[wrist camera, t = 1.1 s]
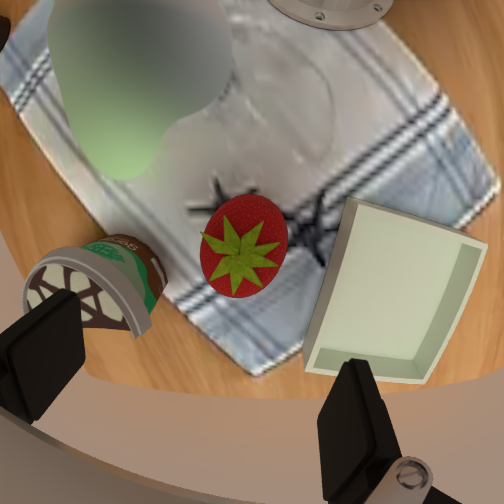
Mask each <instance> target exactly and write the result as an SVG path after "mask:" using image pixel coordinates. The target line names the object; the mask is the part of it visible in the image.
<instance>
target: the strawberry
mask: <svg viewBox="0 0 504 504" xmlns="http://www.w3.org/2000/svg"><path fill="white" fill-rule="evenodd" d="M200 233H201V234H202V236H203V238H202V242H201V247H200V261H201V267H202V270H203V274H204V276H205V278H206V280H207V281H208V283H209V284H210V285H211V286H212V288H214V289H215V290H216V291H217V292H219V293H220V294H222V295H224V296H227V297H232V298H244V297H249V296H251V295H254V294H256V293H258V292H259V291H261V290H262V289H264V288H265V287H266V286H267V285H268V284H269V283H270V282H271V281H272V280H273V278H274V277H275V276H276V274H277V273H278V271H279V269H280V267H281V265H282V263H283V261H284V258H285V255H286V252H287V245H288V231H287V226H286V222H285V219H284V217H283V215H282V213H281V211H280V210H279V209H278V207H277V206H276V205H275V204H274V203H273V202H272V201H270V200H269V199H267V198H265V197H263V196H259V195H255V194H244V195H240V196H236V197H234V198H232V199H230V200H228V201H227V202H225V203H224V204H223V205H221V206H220V207H219V208H218V210H217V211H216V212H215V213H214V214H213V216H212V217H211V219H210V220H209V222H208V224H207V226H206V229H205V231H204V233H202V232H200Z"/></svg>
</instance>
